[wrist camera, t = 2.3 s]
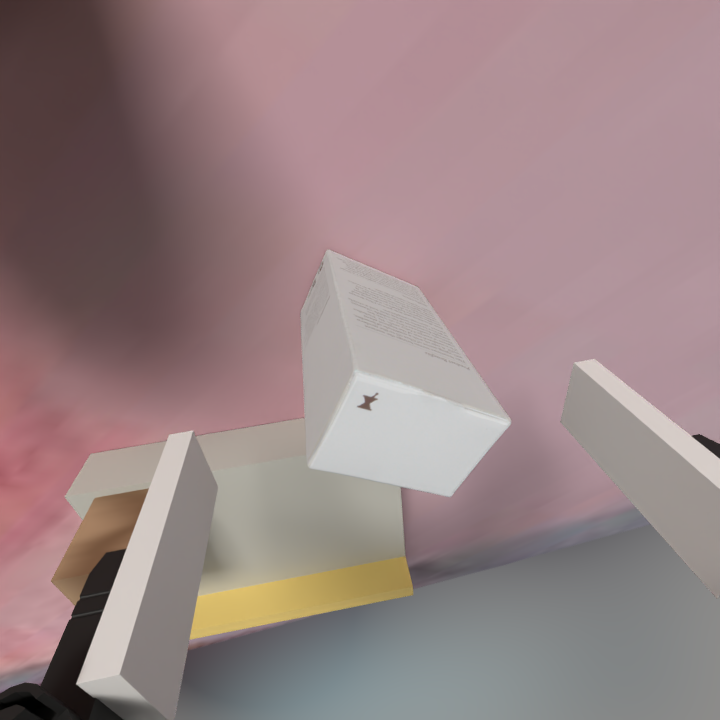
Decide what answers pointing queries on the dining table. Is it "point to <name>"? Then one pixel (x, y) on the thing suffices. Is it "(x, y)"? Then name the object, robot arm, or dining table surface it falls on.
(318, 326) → the skincare box
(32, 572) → the dining table surface
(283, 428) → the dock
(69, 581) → the tan wooden cube
